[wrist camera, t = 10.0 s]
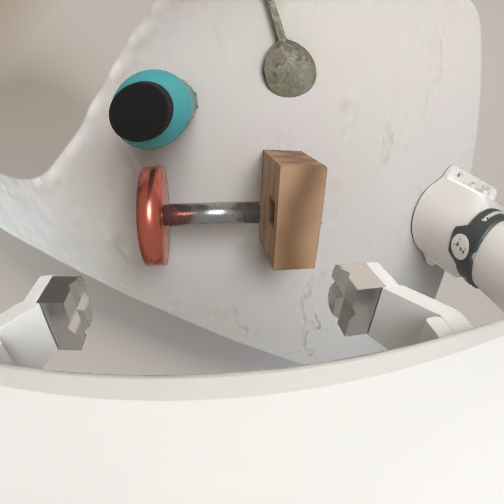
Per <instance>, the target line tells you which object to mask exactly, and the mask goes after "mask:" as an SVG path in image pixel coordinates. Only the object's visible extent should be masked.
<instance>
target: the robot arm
mask: <svg viewBox="0 0 504 504" xmlns="http://www.w3.org/2000/svg"><path fill="white" fill-rule="evenodd" d="M457 174H458V175H457ZM412 234H413V239H414V242H415V244H416V245H417V247H418V248H419V249H420V250H421V251H422V252H423V253H424V257H425V261H426V263H427V264H429V265H430V266H434V265H438V266H440V267H441V268H442V269H444V270H445V271H447V272H448V273H449V274H451V275H452V276H453V277H456V278H457V277H461V276H462V277H463V278H464V280H465V281H466V282H467V283H469V284H470V285H472V286H473V287H475V288H478V289H480V290H481V291H482V292H483V293H485V294H486V295H487V296H488V297H489V298H490V299H491V300H492V301H493V302H494V303H495V304H496V305H497V306H498V307H499V308H500V309H501V310H502V311H503V312H504V205H503V204H502V203H500V202H498V201H497V191H496V189H495V188H494V187H493V186H492V185H490V184H488V183H486V182H484V181H483V180H481V179H479V178H477V177H475V176H473V175H472V174H470V173H468V172H466V171H464V170H462V169H460V168H458V167H456V166H454V165H452V166H450V167H449V168H448V169H447V171H446V172H445V173H444V175H443V176H442V178H440V179H439V180H438V181H436V182H435V183H433V184H432V185H431V186H430V187H429V188H428V189H427V190H426V191H425V193H424V194H423V195H422V197H421V198H420V200H419V202H418V204H417V207H416V209H415V212H414V216H413V221H412ZM332 278H333V279H334V281H335V282H334V283H333V284H332V286H331V287H330V288H329V294H328V301H329V307H330V310H331V312H332V314H333V315H334V316H336V317H338V318H339V320H338V325H339V327H340V328H341V330H342V332H343V334H344V336H352V335H360V334H368V335H369V336H370V337H372V338H373V339H375V340H376V341H377V342H379V343H380V344H382V345H383V346H384V347H386V348H387V349H388V350H387V351H382V352H378V353H373V354H368V355H362V356H357V357H351V358H346V359H340V360H334V361H328V362H321V363H314V364H307V365H300V366H292V367H284V368H275V369H266V370H256V371H245V372H231V373H216V374H194V375H110V374H90V373H76V372H63V371H53V370H43V369H41V368H42V367H43V366H44V365H45V364H46V363H47V362H48V361H49V360H50V359H51V358H52V357H53V356H54V355H55V354H56V353H57V352H58V351H59V349H60V350H82V347H83V344H84V341H85V338H86V334H85V331H84V330H86V329H87V328H88V327H89V326H90V324H91V321H92V306H91V302H90V299H89V297H88V296H86V295H85V293H84V291H85V289H86V284H85V281H84V278H83V277H82V276H81V275H44V276H41V277H40V278H39V279H38V281H37V282H36V283H35V285H34V287H33V288H32V289H31V291H30V292H29V294H28V295H27V297H26V298H25V300H24V301H23V303H18V304H16V305H15V306H13V307H11V308H10V309H8V310H7V311H5V312H3V313H2V314H0V504H504V318H503V319H500V320H497V321H494V322H491V323H488V324H485V325H482V326H479V327H475V328H474V327H473V326H472V325H471V324H470V323H469V322H468V320H467V319H466V318H465V317H464V316H463V315H462V314H461V313H460V312H459V311H458V310H456V309H454V308H452V307H450V306H447V305H445V304H443V303H441V302H439V301H437V300H434V299H432V298H430V297H428V296H426V295H423V294H421V293H419V292H417V291H414V290H412V289H410V288H408V287H405V286H403V285H402V286H399V285H398V284H397V283H396V282H395V280H394V279H393V278H392V277H391V276H390V275H389V274H388V273H387V272H386V271H385V270H384V268H383V267H382V266H381V265H380V264H379V263H378V262H375V261H374V262H364V263H353V264H342V265H335V267H334V269H333V273H332Z"/></svg>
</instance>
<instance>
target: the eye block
mask: <svg viewBox="0 0 504 504" xmlns="http://www.w3.org/2000/svg"><path fill="white" fill-rule="evenodd" d="M326 177H327V167H326V166H324V165H323V164H321V163H320V162H318V161H316V160H315V159H313V158H311V157H310V156H308V155H307V154H305V153H303V152H302V151H281V150H263V169H262V191H261V212H260V232H259V236H260V239H261V241H262V244H263V246H264V249H265V251H266V254H267V256H268V259H269V261H270V264H271V266H272V269H273V270H290V269H308V268H315V262H316V255H317V248H318V241H319V234H320V226H321V219H322V211H323V203H324V194H325V186H326Z"/></svg>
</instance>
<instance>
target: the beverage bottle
mask: <svg viewBox="0 0 504 504" xmlns="http://www.w3.org/2000/svg"><path fill="white" fill-rule="evenodd" d="M189 85H190V84H189ZM189 85H187V84H186V83H185V82H183V81H182V80H180V79H179V78H178V77H176V76H175V75H173V74H171V73H169V72H166V71H163V70H145V71H141V72H139V73H136V74H134V75H132V76H131V77H129V78H128V79H127V80H125V81H124V82H123V83H122V84H121V86H120V87H119V88H118V90H117V91H116V93H115V95H114V98H113V100H112V102H111V105H110V109H109V119H110V123H111V126H112V128H113V130H114V131H115V132H116V133H117V134H118V135H119V136H120V137H121V138H122V139H123V140H124V141H125V142H127V143H128V144H130V145H132V146H134V147H137V148H142V149H154V148H159V147H162V146H165V145H167V144H169V143H171V142H172V141H174V140H175V139H176V138H177V137H179V136H180V134H181V133H182V132H183V131H184V129H185V128H186V126H187V124H188V123H189V121H190V120H191V119H192V117H193V115H194V113H195V111H196V106H197V108H198V105H197V103H198V101H197V100H196V96H197V94H196V93H194V91H193V90H192V87H190V86H189ZM193 118H194V117H193ZM189 124H190V123H189Z"/></svg>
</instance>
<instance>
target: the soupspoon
mask: <svg viewBox="0 0 504 504" xmlns="http://www.w3.org/2000/svg"><path fill="white" fill-rule="evenodd" d="M267 3H268V6H269V9H270V12H271V15H272V19H273V22H274V26H275V30H276V34H277V37H278V41H277V42H276V43H275V44H274V45H272V47H271V48H270V50H269V51H268V54H267V57H266V60H265V64H264V73H265V77H266V81H267V84H268V86H269V88H270V90H271V91H273V92H274V93H275V94H276V95H278V96H281V97H296V96H300V95H302V94H304V93H306V92H307V91H309V90H310V89H311V88H312V87H313V85H314V83H315V80H316V67H315V63H314V60H313V59H312V57H311V55H310V54H309V52H308V51H307V50H306V49H305V48H303V47H302V46H301V45H299V44H298V43H296V42H293V41H291V40H288V39H286V36H285V33H284V30H283V26H282V24H281V20H280V18H279V14H278V12H277V8H276V5H275V3H274V1H273V0H267Z"/></svg>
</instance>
